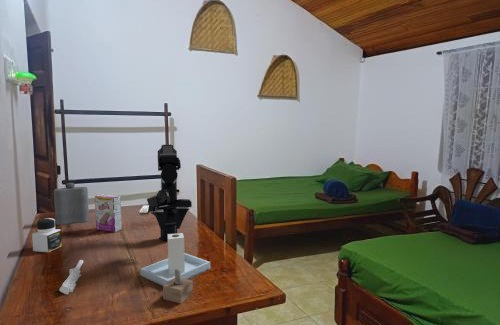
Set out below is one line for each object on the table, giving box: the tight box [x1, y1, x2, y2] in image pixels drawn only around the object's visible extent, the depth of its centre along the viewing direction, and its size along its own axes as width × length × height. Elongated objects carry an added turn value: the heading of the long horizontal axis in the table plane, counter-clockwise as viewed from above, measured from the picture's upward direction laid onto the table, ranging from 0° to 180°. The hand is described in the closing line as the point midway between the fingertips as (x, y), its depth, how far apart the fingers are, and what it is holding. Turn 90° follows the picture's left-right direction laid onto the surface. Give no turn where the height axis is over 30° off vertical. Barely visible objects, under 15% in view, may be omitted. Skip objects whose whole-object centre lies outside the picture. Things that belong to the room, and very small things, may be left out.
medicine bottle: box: [31, 217, 62, 253], centre depth 133 cm, size 7×7×12 cm
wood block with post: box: [162, 269, 194, 304], centre depth 96 cm, size 6×6×8 cm
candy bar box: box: [94, 193, 123, 233], centre depth 157 cm, size 11×5×16 cm, turn 71°
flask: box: [53, 182, 90, 226], centre depth 169 cm, size 15×6×20 cm, turn 121°
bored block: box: [167, 232, 185, 275], centre depth 112 cm, size 5×5×12 cm
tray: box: [140, 252, 211, 287], centre depth 112 cm, size 18×14×2 cm
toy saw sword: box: [59, 259, 84, 295], centre depth 108 cm, size 3×4×22 cm
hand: (170, 229), depth 122 cm, fingers open, 9 cm apart
